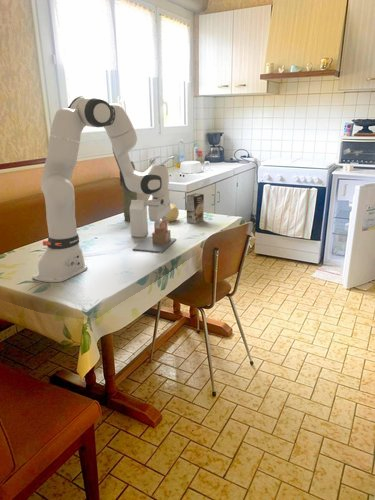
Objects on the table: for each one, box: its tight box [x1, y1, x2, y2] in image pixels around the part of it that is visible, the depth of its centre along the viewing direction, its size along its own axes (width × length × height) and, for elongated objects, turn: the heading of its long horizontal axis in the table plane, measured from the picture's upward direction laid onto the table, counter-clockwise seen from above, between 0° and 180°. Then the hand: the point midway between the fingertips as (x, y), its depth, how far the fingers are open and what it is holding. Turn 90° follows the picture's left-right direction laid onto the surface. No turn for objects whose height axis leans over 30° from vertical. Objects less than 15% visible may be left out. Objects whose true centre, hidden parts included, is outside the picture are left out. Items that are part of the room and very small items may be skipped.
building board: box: [131, 229, 177, 254], centre depth 185 cm, size 20×15×6 cm
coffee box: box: [186, 193, 205, 225], centre depth 223 cm, size 9×6×16 cm
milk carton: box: [129, 199, 149, 238], centre depth 198 cm, size 7×7×19 cm
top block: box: [153, 220, 169, 234], centre depth 186 cm, size 5×5×5 cm
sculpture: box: [160, 203, 180, 223], centre depth 227 cm, size 12×12×11 cm
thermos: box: [119, 160, 138, 222], centre depth 226 cm, size 9×12×35 cm
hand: (161, 225), depth 186 cm, fingers open, 6 cm apart
